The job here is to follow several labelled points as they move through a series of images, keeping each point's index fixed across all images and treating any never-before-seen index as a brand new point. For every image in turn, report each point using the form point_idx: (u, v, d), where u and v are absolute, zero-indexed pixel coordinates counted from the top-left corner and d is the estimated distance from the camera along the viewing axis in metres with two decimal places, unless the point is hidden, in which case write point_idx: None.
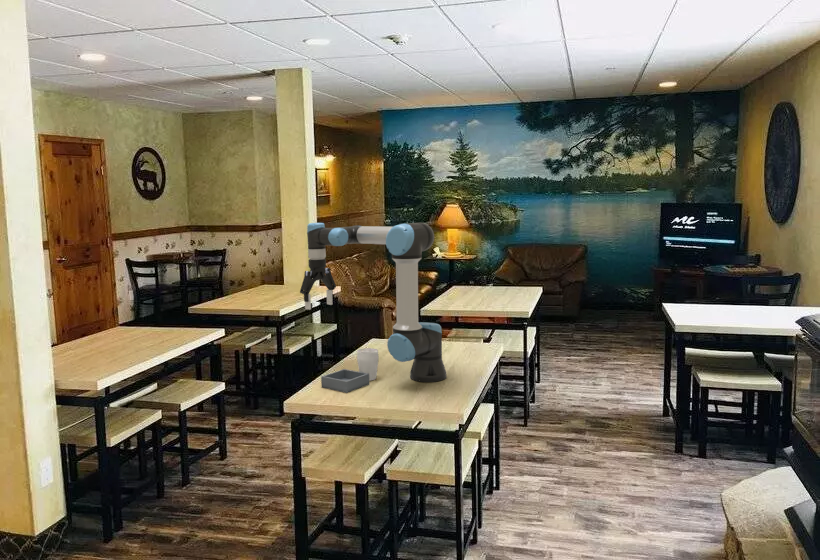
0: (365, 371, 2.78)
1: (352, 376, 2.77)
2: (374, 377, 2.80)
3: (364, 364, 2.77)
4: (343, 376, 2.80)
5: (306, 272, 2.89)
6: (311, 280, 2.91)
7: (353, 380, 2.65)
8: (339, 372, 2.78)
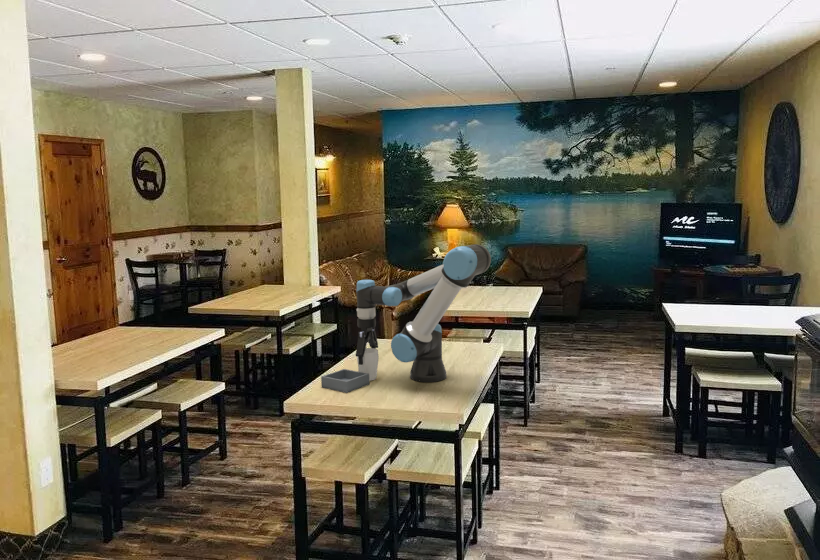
0: (365, 371, 2.78)
1: (352, 376, 2.77)
2: (374, 377, 2.80)
3: None
4: (343, 376, 2.80)
5: (361, 333, 2.73)
6: (363, 341, 2.75)
7: (353, 380, 2.65)
8: (339, 372, 2.78)
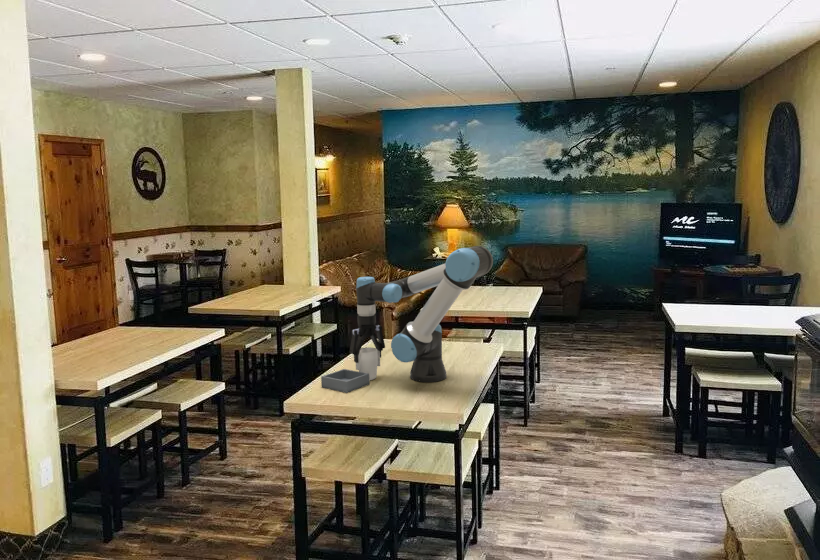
0: (364, 370, 2.78)
1: (352, 376, 2.77)
2: (374, 376, 2.80)
3: (363, 364, 2.77)
4: (343, 376, 2.80)
5: (353, 331, 2.75)
6: (360, 339, 2.77)
7: (353, 380, 2.65)
8: (339, 372, 2.78)
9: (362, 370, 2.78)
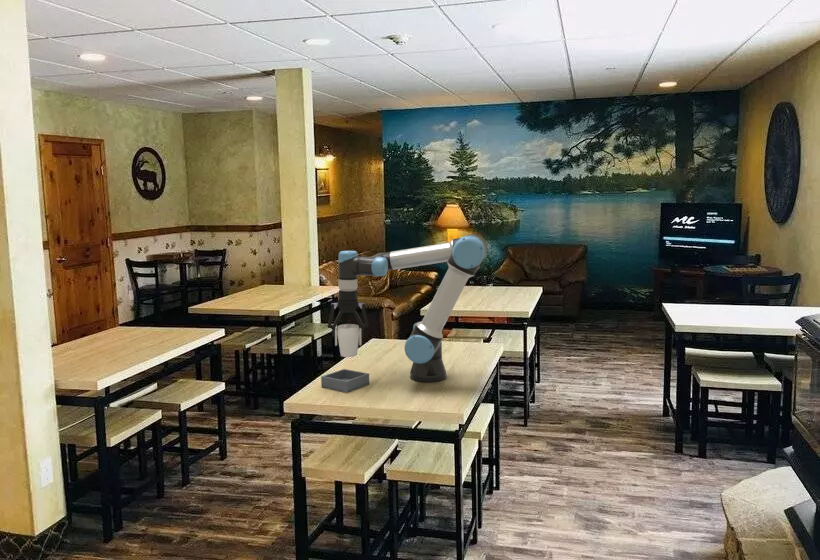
0: (340, 346, 2.71)
1: (352, 376, 2.77)
2: (350, 354, 2.71)
3: (339, 339, 2.70)
4: (343, 376, 2.80)
5: (331, 304, 2.70)
6: (339, 313, 2.71)
7: (353, 380, 2.65)
8: (339, 372, 2.78)
9: (339, 346, 2.72)
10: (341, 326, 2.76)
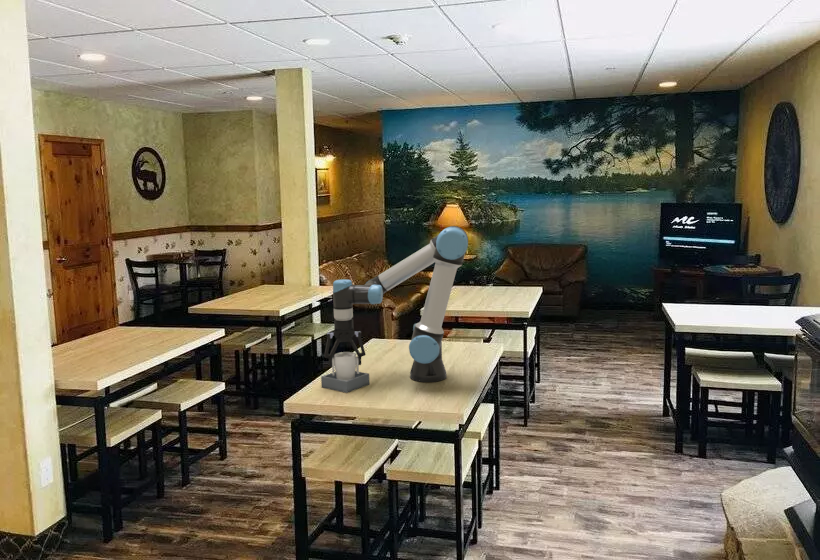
0: (337, 375, 2.69)
1: None
2: None
3: (336, 368, 2.69)
4: None
5: None
6: (335, 343, 2.69)
7: (353, 380, 2.65)
8: None
9: (336, 374, 2.70)
10: (337, 354, 2.74)
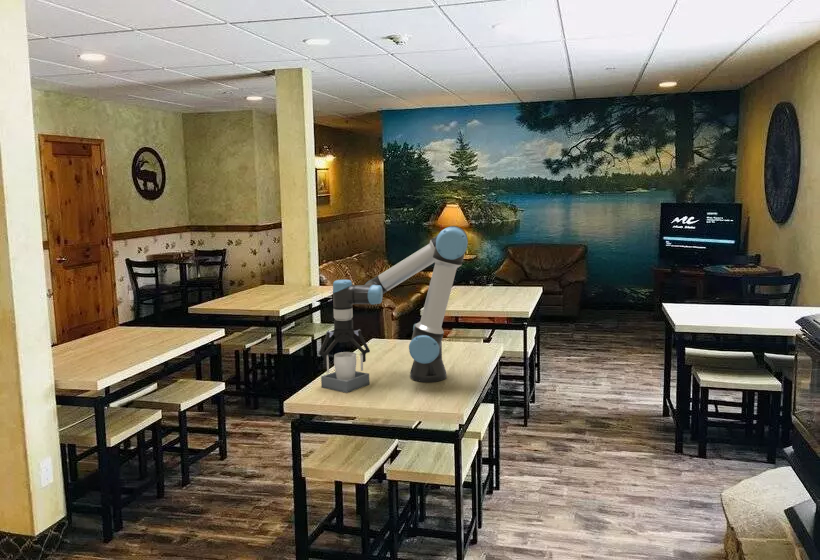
0: (337, 375, 2.69)
1: None
2: None
3: (336, 368, 2.69)
4: None
5: (326, 332, 2.68)
6: (333, 341, 2.69)
7: (353, 380, 2.65)
8: None
9: (336, 374, 2.70)
10: (338, 354, 2.74)
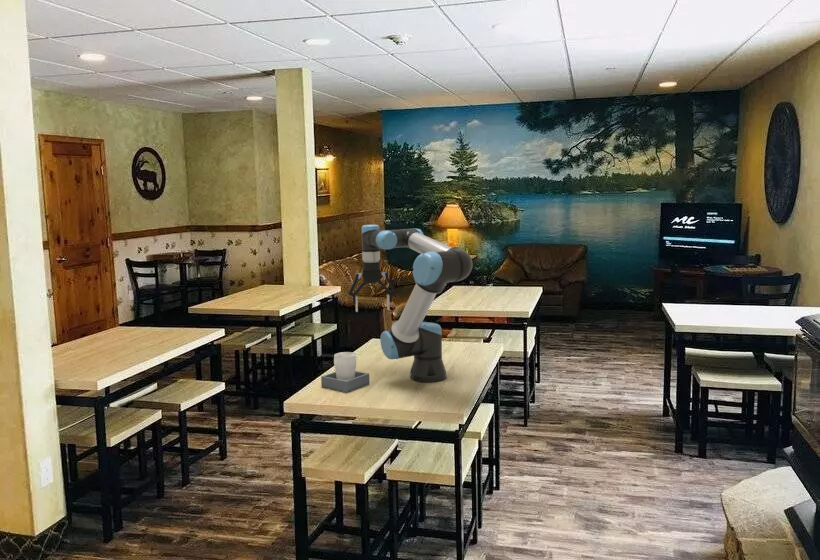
0: (337, 375, 2.69)
1: None
2: None
3: (336, 368, 2.69)
4: None
5: None
6: (361, 283, 2.87)
7: (353, 380, 2.65)
8: None
9: (336, 374, 2.70)
10: (338, 354, 2.74)
